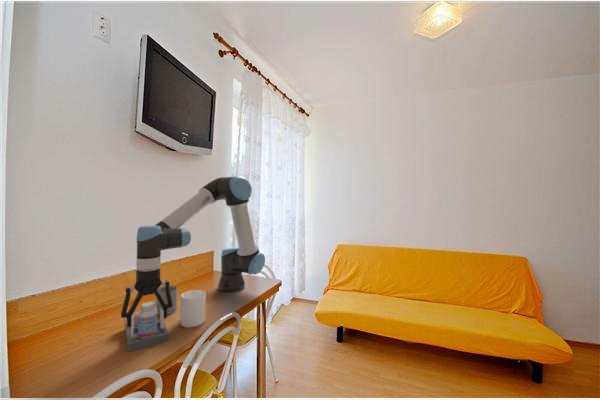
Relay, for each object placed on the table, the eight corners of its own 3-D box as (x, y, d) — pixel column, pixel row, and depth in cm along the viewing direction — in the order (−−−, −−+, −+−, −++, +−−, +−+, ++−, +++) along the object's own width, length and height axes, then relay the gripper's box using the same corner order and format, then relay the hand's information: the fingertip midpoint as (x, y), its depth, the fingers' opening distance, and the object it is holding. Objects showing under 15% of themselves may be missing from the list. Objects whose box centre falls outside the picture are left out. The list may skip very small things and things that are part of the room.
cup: (168, 316, 110) (168, 293, 110) (151, 314, 111) (152, 291, 111) (180, 308, 118) (181, 286, 118) (165, 306, 119) (166, 285, 120)
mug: (190, 330, 98) (191, 300, 98) (171, 322, 104) (171, 294, 104) (210, 320, 106) (210, 292, 106) (191, 314, 112) (191, 287, 112)
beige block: (143, 321, 104) (143, 307, 104) (150, 326, 101) (151, 311, 101) (124, 329, 98) (124, 313, 98) (131, 334, 95) (132, 318, 95)
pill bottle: (136, 341, 88) (137, 308, 88) (139, 332, 93) (140, 302, 94) (156, 337, 90) (156, 306, 90) (158, 329, 96) (158, 300, 96)
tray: (162, 326, 100) (162, 320, 100) (168, 340, 91) (168, 333, 91) (126, 336, 93) (126, 329, 93) (128, 351, 83) (128, 344, 83)
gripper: (178, 262, 101) (177, 319, 101) (111, 270, 88) (110, 335, 88) (182, 266, 95) (181, 326, 95) (112, 276, 82) (110, 345, 82)
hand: (147, 330), depth 92 cm, fingers open, 9 cm apart
